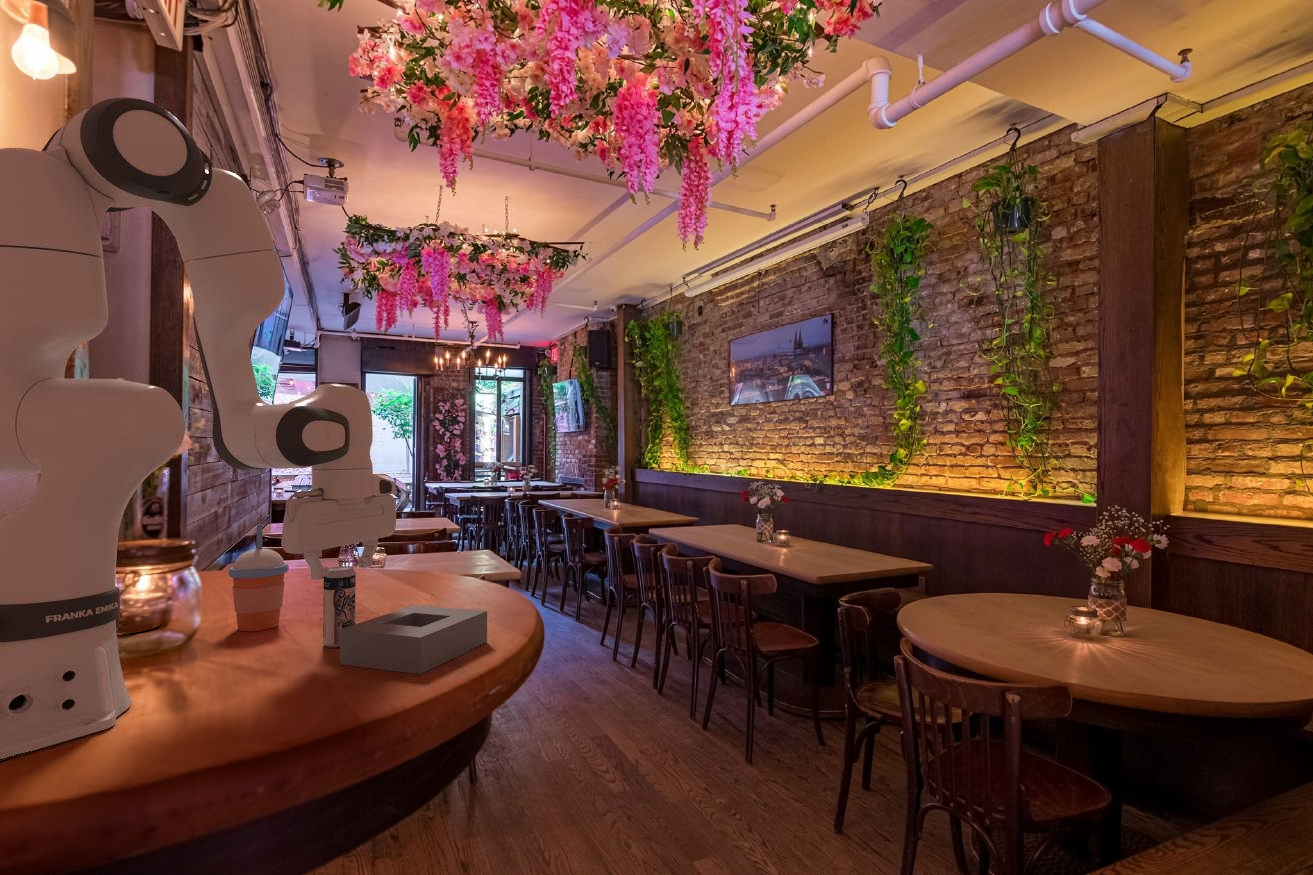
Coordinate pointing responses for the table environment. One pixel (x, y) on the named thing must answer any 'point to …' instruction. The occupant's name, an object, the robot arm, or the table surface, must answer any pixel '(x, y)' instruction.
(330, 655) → the table surface
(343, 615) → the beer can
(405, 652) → the holder block
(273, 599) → the cup with straw
